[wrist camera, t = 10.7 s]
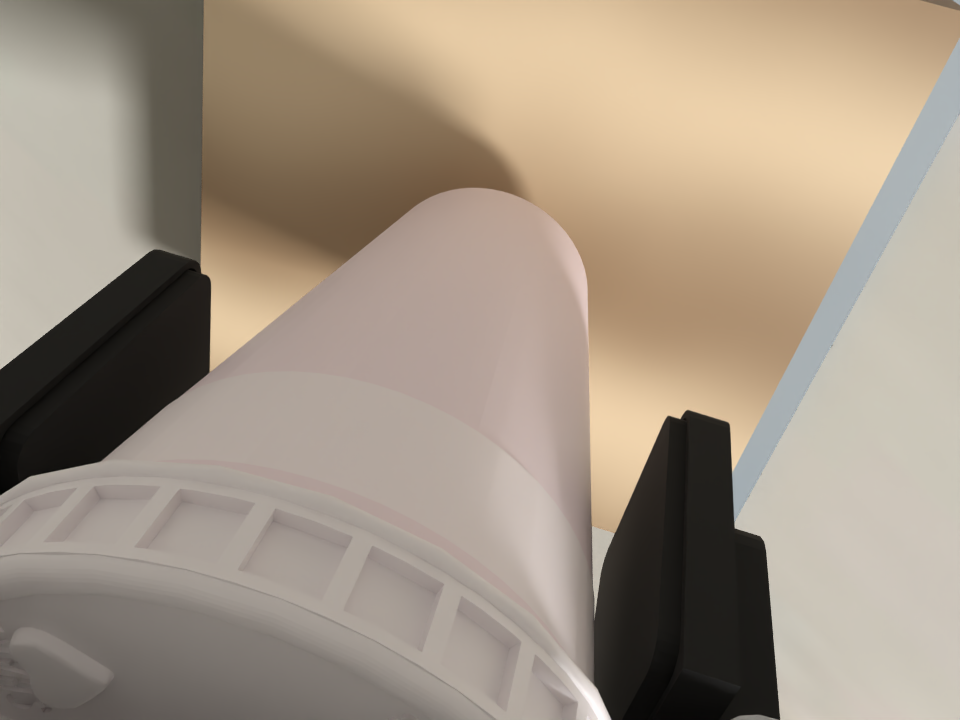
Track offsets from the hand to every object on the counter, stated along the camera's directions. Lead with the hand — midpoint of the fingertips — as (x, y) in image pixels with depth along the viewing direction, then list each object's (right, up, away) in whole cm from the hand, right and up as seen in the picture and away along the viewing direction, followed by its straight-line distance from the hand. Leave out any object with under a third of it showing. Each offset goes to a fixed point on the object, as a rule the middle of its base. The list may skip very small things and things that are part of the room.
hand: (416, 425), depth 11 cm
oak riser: (+2, +5, +8) cm, 10 cm away
